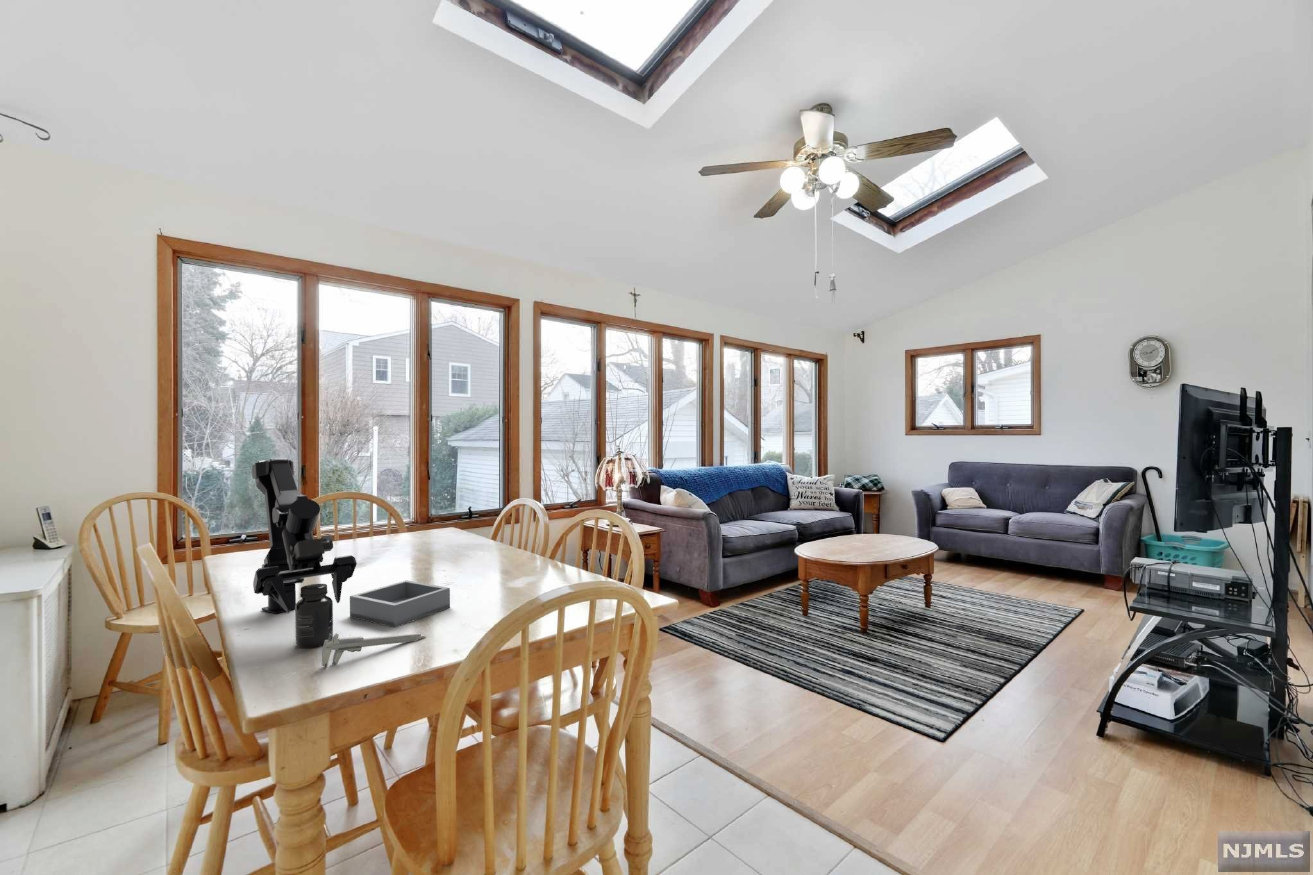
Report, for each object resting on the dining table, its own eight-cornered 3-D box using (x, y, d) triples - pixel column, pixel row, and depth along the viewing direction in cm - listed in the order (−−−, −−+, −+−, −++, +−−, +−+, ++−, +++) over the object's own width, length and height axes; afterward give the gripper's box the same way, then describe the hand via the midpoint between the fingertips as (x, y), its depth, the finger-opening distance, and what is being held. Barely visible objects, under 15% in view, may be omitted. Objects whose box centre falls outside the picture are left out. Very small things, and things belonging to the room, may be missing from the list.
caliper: (324, 669, 108) (323, 636, 107) (321, 668, 108) (321, 635, 108) (426, 638, 123) (426, 610, 123) (423, 637, 124) (423, 608, 124)
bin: (350, 616, 137) (349, 596, 137) (406, 599, 151) (406, 580, 151) (394, 627, 130) (394, 605, 130) (450, 607, 144) (449, 587, 144)
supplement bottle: (339, 640, 122) (339, 584, 121) (306, 651, 116) (305, 592, 116) (322, 634, 125) (322, 580, 125) (289, 644, 119) (288, 587, 119)
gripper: (254, 530, 117) (267, 594, 110) (353, 519, 130) (370, 576, 123) (248, 562, 123) (259, 625, 115) (343, 549, 136) (359, 605, 128)
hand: (314, 606), depth 120 cm, fingers open, 9 cm apart
